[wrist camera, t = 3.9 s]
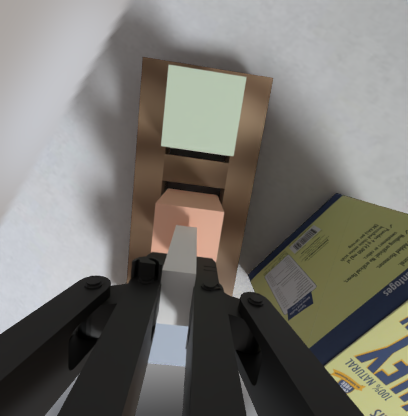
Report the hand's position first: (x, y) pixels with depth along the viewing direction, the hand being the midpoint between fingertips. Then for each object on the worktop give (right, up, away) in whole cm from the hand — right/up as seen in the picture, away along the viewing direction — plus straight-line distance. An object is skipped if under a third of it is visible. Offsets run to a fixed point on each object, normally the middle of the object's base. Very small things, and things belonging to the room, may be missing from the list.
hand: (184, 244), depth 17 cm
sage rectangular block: (+1, +11, +5) cm, 12 cm away
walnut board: (0, +3, +12) cm, 12 cm away
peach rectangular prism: (0, +2, +7) cm, 8 cm away
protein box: (+16, -4, +14) cm, 22 cm away
